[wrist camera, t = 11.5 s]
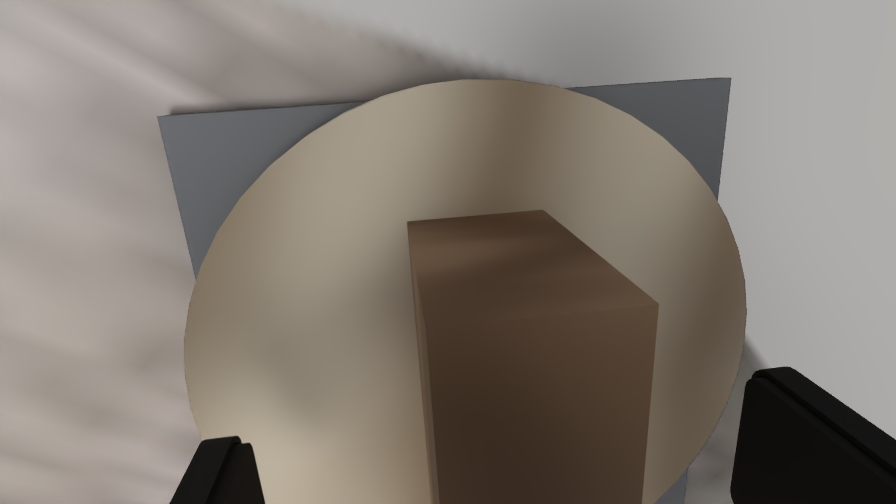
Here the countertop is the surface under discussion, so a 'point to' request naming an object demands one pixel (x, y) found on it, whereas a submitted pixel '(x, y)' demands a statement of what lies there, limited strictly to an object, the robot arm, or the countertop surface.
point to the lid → (470, 306)
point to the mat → (278, 129)
